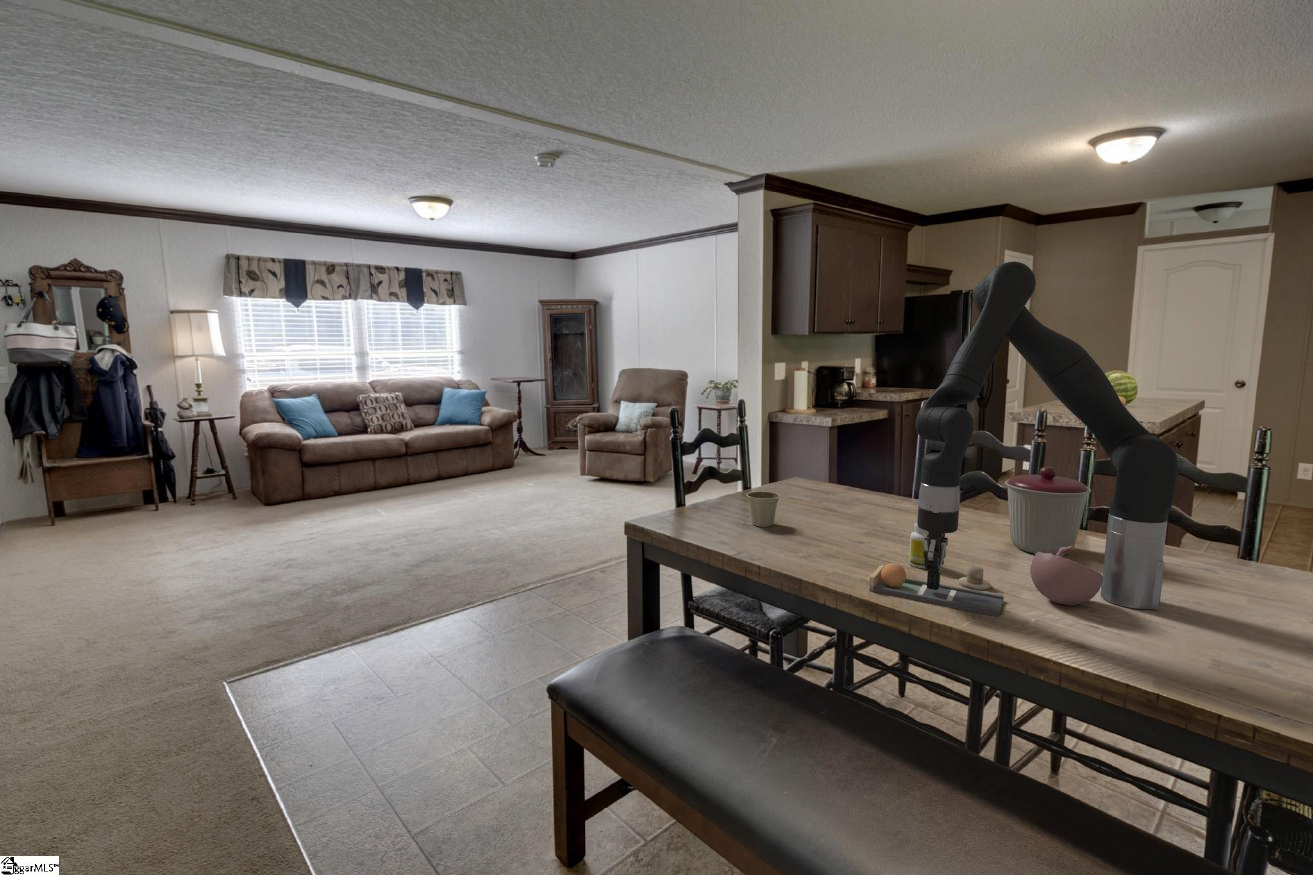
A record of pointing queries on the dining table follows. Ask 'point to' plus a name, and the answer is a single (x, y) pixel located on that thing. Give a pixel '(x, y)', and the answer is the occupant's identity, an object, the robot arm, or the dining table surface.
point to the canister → (1045, 511)
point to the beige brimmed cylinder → (974, 579)
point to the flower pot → (763, 507)
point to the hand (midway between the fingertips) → (933, 588)
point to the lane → (940, 595)
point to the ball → (893, 575)
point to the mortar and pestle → (1064, 578)
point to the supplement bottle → (917, 547)
